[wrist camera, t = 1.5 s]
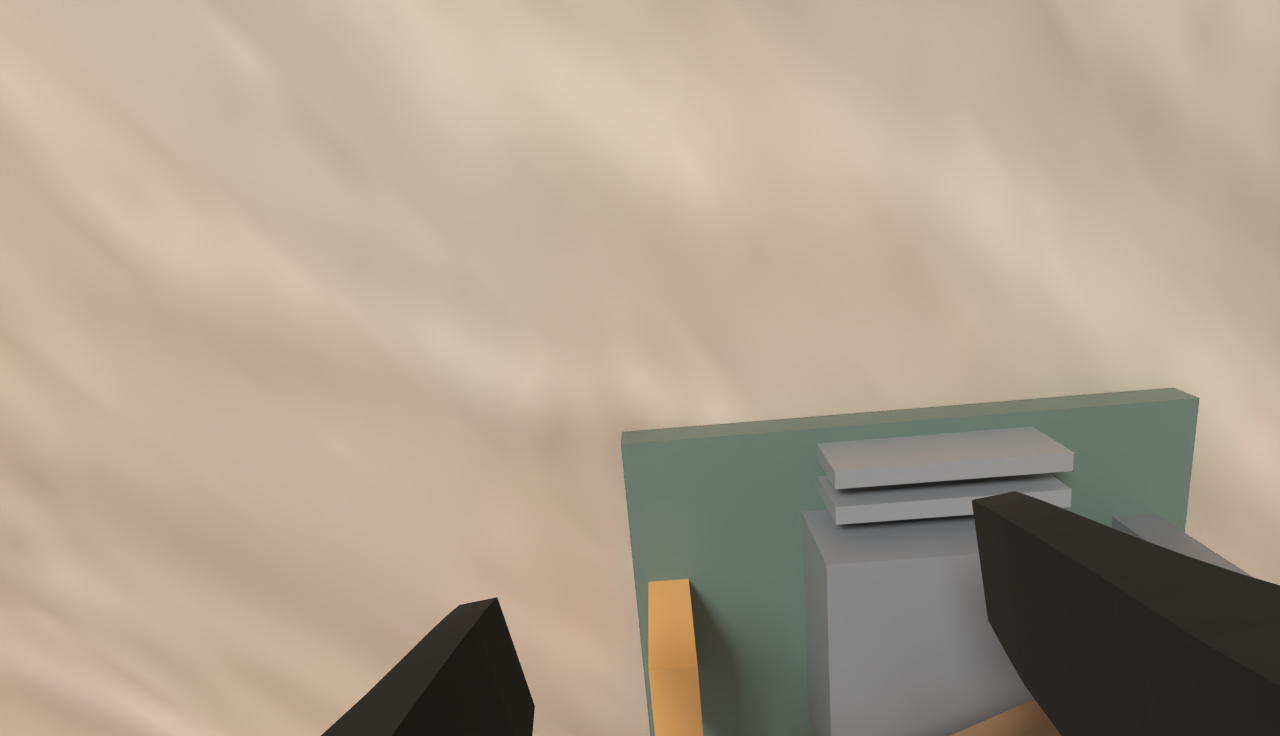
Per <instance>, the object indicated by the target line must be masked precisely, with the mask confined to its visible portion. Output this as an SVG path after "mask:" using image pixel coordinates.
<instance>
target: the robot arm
mask: <svg viewBox="0 0 1280 736" xmlns="http://www.w3.org/2000/svg"><path fill="white" fill-rule="evenodd" d="M972 507H973V514H974V521H975V529H976V536H977V543H978V551H979V558H980V565H981V573H982V580H983V587H984V595H985V602H986V609H987V617H988V621H989V623H990V625H991V627H992V628H993V630H994V632H995V634H996V636H997V638H998V639H999V641H1000V643H1001V645H1002V647H1003V649H1004V651H1005V652H1006V654H1007V656H1008V658H1009V659H1010V661H1011V663H1012V665H1013V666H1014V668H1015V670H1016V672H1017V673H1018V675H1019V677H1020V679H1021V680H1022V682H1023V683H1024V685H1025V686H1026V688H1027V689H1028V691H1029V692H1030V693H1031V695H1032V696H1033V698H1034V699H1035V700H1036V702H1037V703H1038V704H1039V706H1040V707H1041V709H1042V710H1043V711H1044V713H1045V714H1046V715H1047V717H1048V718H1049V720H1050V721H1051V722H1052V724H1053V725H1054V726H1055V728H1056V729H1057V731H1058V732H1059V733H1060V735H1061V736H1280V585H1276V584H1273V583H1269V582H1266V581H1263V580H1259V579H1256V578H1253V577H1250V576H1246V575H1243V574H1240V573H1237V572H1234V571H1231V570H1228V569H1225V568H1222V567H1219V566H1216V565H1213V564H1210V563H1207V562H1204V561H1201V560H1198V559H1195V558H1192V557H1189V556H1186V555H1183V554H1181V553H1178V552H1175V551H1172V550H1169V549H1167V548H1164V547H1161V546H1158V545H1156V544H1153V543H1150V542H1148V541H1145V540H1142V539H1140V538H1137V537H1134V536H1132V535H1129V534H1127V533H1124V532H1121V531H1119V530H1116V529H1114V528H1111V527H1109V526H1106V525H1103V524H1101V523H1098V522H1096V521H1093V520H1091V519H1088V518H1086V517H1083V516H1081V515H1078V514H1076V513H1073V512H1071V511H1068V510H1066V509H1063V508H1061V507H1058V506H1055V505H1053V504H1050V503H1048V502H1045V501H1042V500H1040V499H1037V498H1034V497H1031V496H1029V495H1026V494H1022V493H1019V492H1016V491H1013V492H1008V493H1003V494H999V495H994V496H989V497H984V498H979V499H974V500H972ZM534 708H535V706H534V703H533V700H532V697H531V694H530V691H529V688H528V685H527V682H526V680H525V677H524V674H523V671H522V668H521V665H520V662H519V659H518V656H517V653H516V651H515V648H514V645H513V642H512V639H511V636H510V633H509V630H508V627H507V624H506V622H505V619H504V616H503V613H502V610H501V607H500V604H499V601H498V598H492V599H487V600H482V601H477V602H472V603H468V604H463V605H459V606H458V607H457V608H456V609H454V610H453V611H452V612H451V613H450V614H448V615H447V616H446V617H445V618H444V619H443V620H442V621H441V622H440V623H439V624H437V625H436V626H435V627H434V628H433V629H432V630H431V631H430V632H429V633H428V634H427V635H426V636H425V637H424V638H423V639H422V640H421V641H420V642H419V643H418V644H417V645H416V646H415V647H414V648H413V649H412V650H411V651H410V652H409V653H408V654H407V655H406V656H405V657H404V658H403V659H402V660H401V661H400V662H399V663H398V664H397V665H396V666H395V667H394V668H393V669H392V670H391V671H390V672H389V673H387V674H386V675H385V676H384V677H383V678H382V679H381V680H380V681H379V682H378V683H377V684H376V685H375V686H374V687H373V688H372V689H371V690H370V691H369V692H368V693H367V694H366V695H365V696H364V697H363V698H362V699H361V700H360V701H358V702H357V703H356V704H355V705H354V706H353V707H352V708H351V709H350V710H349V711H348V712H346V713H345V714H344V715H343V716H342V717H341V718H340V719H339V720H338V721H337V722H335V723H334V724H333V725H332V726H331V727H330V728H329V729H328V730H327V731H326V732H325V733H323V734H322V735H321V736H532V731H533V720H534Z"/></svg>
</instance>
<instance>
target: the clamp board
mask: <svg viewBox="0 0 1280 736" xmlns="http://www.w3.org/2000/svg"><path fill="white" fill-rule="evenodd" d="M1198 406H1199V398H1198V397H1196V396H1193V395H1191V394H1188V393H1185V392H1183V391H1180V390H1178V389H1175V388H1166V389H1153V390H1141V391H1129V392H1116V393H1104V394H1091V395H1079V396H1066V397H1054V398H1041V399H1029V400H1017V401H1004V402H992V403H979V404H967V405H954V406H942V407H929V408H917V409H905V410H892V411H880V412H867V413H855V414H842V415H830V416H817V417H805V418H792V419H780V420H768V421H755V422H743V423H730V424H718V425H705V426H693V427H680V428H668V429H656V430H643V431H631V432H622V439H621V449H622V459H623V469H624V479H625V489H626V499H627V508H628V518H629V528H630V538H631V548H632V558H633V568H634V578H635V588H636V597H637V607H638V617H639V627H640V637H641V647H642V657H643V667H644V676H645V686H646V696H647V706H648V716H649V726H650V736H950V735H953V734H955V733H957V732H960V731H962V730H964V729H967V728H969V727H971V726H973V725H976V724H978V723H980V722H983V721H985V720H987V719H990V718H992V717H994V716H996V715H999V714H1001V713H1003V712H1006V711H1008V710H1010V709H1013V708H1015V707H1017V706H1019V705H1022V704H1024V703H1026V702H1029V701H1031V700H1033V699H1034V698H1033V696H1032V695H1031V693H1030V692H1029V691H1028V689H1027V688H1026V686H1025V685H1024V683H1023V682H1022V680H1021V679H1020V677H1019V675H1018V673H1017V672H1016V670H1015V668H1014V666H1013V665H1012V663H1011V661H1010V659H1009V658H1008V656H1007V654H1006V652H1005V651H1004V649H1003V647H1002V645H1001V643H1000V641H999V639H998V638H997V636H996V634H995V632H994V630H993V628H992V627H991V625H990V623H989V621H988V617H987V609H986V602H985V595H984V587H983V580H982V573H981V565H980V558H979V551H978V543H977V536H976V529H975V521H974V514H973V507H972V500H974V499H979V498H984V497H989V496H994V495H999V494H1003V493H1008V492H1013V491H1016V492H1019V493H1022V494H1026V495H1029V496H1031V497H1034V498H1037V499H1040V500H1042V501H1045V502H1048V503H1050V504H1053V505H1055V506H1058V507H1061V508H1063V509H1066V510H1068V511H1071V512H1073V513H1076V514H1078V515H1081V516H1083V517H1086V518H1088V519H1091V520H1093V521H1096V522H1098V523H1101V524H1103V525H1106V526H1109V527H1111V528H1114V529H1116V530H1119V531H1121V532H1124V533H1127V534H1129V535H1132V536H1134V537H1137V538H1140V539H1142V540H1145V541H1148V542H1150V543H1153V544H1156V545H1158V546H1161V547H1164V548H1167V549H1169V550H1172V551H1175V552H1178V553H1181V554H1183V555H1186V556H1189V557H1192V558H1195V559H1198V560H1201V561H1204V562H1207V563H1210V564H1213V565H1216V566H1219V567H1222V568H1225V569H1228V570H1231V571H1234V572H1237V573H1240V574H1243V575H1246V576H1250V575H1249V574H1247V573H1246V572H1244V571H1243V570H1241V569H1240V568H1238V567H1236V566H1235V565H1233V564H1232V563H1230V562H1229V561H1227V560H1226V559H1224V558H1223V557H1221V556H1220V555H1218V554H1217V553H1215V552H1213V551H1212V550H1210V549H1209V548H1207V547H1206V546H1204V545H1203V544H1201V543H1200V542H1198V541H1197V540H1195V539H1194V538H1192V537H1190V536H1189V535H1187V534H1186V533H1185V524H1186V515H1187V506H1188V497H1189V488H1190V478H1191V469H1192V460H1193V451H1194V442H1195V433H1196V424H1197V415H1198ZM1250 577H1252V576H1250Z"/></svg>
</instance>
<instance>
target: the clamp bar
mask: <svg viewBox="0 0 1280 736" xmlns="http://www.w3.org/2000/svg"><path fill="white" fill-rule="evenodd" d="M950 736H1061V735H1060V733H1059V732H1058V731H1057V729H1056V728H1055V726H1054V725H1053V724H1052V722H1051V721H1050V720H1049V718H1048V717H1047V715H1046V714H1045V713H1044V711H1043V710H1042V709H1041V707H1040V706H1039V704H1038V703H1037V702H1036V700H1035V699H1033V700H1031V701H1029V702H1026V703H1024V704H1022V705H1019V706H1017V707H1015V708H1013V709H1010V710H1008V711H1006V712H1003V713H1001V714H999V715H996V716H994V717H992V718H990V719H987V720H985V721H983V722H980V723H978V724H976V725H973V726H971V727H969V728H967V729H964V730H962V731H960V732H957V733H955V734H953V735H950Z"/></svg>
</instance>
